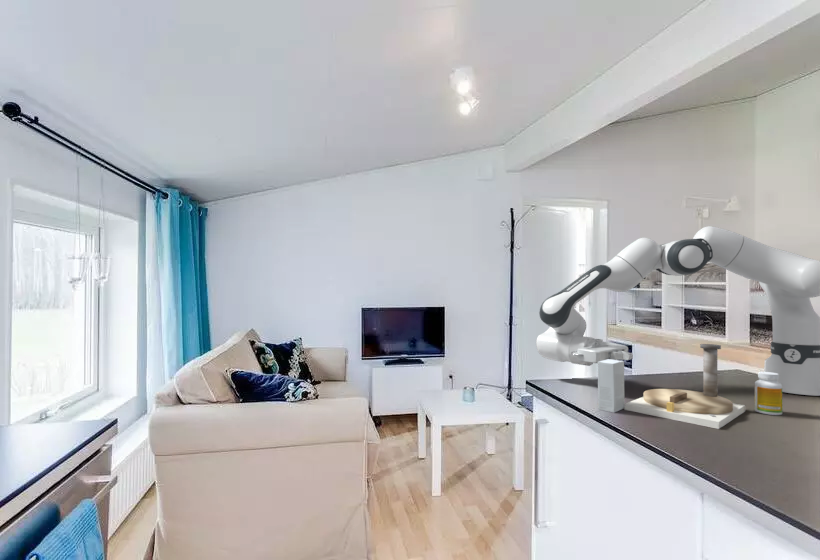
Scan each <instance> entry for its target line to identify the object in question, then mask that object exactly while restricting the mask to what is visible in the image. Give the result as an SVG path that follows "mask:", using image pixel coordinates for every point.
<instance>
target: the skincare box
mask: <svg viewBox="0 0 820 560" xmlns="http://www.w3.org/2000/svg"><path fill="white" fill-rule="evenodd" d="M597 409H598V411H603V412H604V411H605V412H609V413H617V412H619V411H621V410H623V409H624V410H625V360H612V359H607V360H603V361H599V362H598V363H597Z"/></svg>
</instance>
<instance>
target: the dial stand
mask: <svg viewBox="0 0 820 560" xmlns="http://www.w3.org/2000/svg"><path fill="white" fill-rule="evenodd" d="M624 411H629V412H634V413H635V412H636V413H638V414H644V415H648V416H649V415H650V416H654V417H659V418H663V419H667V420H673V421H679V422H681V423H688V424H692V425H696V426H697V425H698V426H702V427H706V428H707V427H708V428H712V429H717V430H719V429H721V428H722V427H724V426H725V425H727V424H729V423H730V422H731V421H733V420H734V419H736V418H738V417H739V416H741V415H742V414H744V413H745V412H746V405H745V404H739V403H734V402H733V411H731V412H729V413H723V414H700V413H689V412H682V411H676V410H674V403H672V402H667V409H666V408H662V407H658V406H655V405H652V404H649V403H647V402H646V401H644V396H642V397H639V398H638V397H637V398H636V399H633V400H631V401H628V402H624Z"/></svg>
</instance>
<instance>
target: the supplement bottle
mask: <svg viewBox="0 0 820 560" xmlns="http://www.w3.org/2000/svg"><path fill="white" fill-rule="evenodd" d="M757 377H758V380H756V381H755V382H754V411H755V412H757V413H760V414H763V415H768V416H781V415H783V392H782V385H781V384H780V383H779V382H777V380H779V374H777V373H772V372H764V371H758V373H757Z"/></svg>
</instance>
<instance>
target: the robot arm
mask: <svg viewBox="0 0 820 560" xmlns="http://www.w3.org/2000/svg"><path fill="white" fill-rule="evenodd" d="M707 263H711V264H714V265H715V266H718V267H720V268H721V269H724V270H726V271H728V272H732V273H733V274H736V275H738V276H739V277H743V278H745V279H747V280H752V281H755V282H758V284H759V286H760V287H761V289H762V290H763V291H764V293H765V295H766V299H767V301H768V306H769V309H770V313H771V319H772V321H771V322H772V341H771V342H770V346H769V347H770V353H771V355H770V356H769V357H767V358H766V359H764V367H763V372H772V373H777V374H779V380H777V382H779V383H780V384H781V385H782V393H788V394H795V395H802V396H804V395H805V396H820V315H819V314H818V313H817V312H816V311H815V309H814V308H813V305H812V303H811V299H810V298H817V297H820V259H819V260H818V259H814V258H810V257H807V256H804V255H801V254H797V253H795V252H790V251H787V250H782V249H779V248H775V247H773V246H769V245H766V244H764V243H762V242H759V241H757V240H755V239H752V238H749V237H747V236H745V235H742V234H740V233H737V232H735V231H732V230H728V229H725V228H721V227H717V226H711V225H707V226H704V227H702V228H701V229H699V230H698V231H697V232H696V233H695V234H694V236H693V238H685V239H679V240H673V241H670V242H667V243H663V244H658V243H657V242H656V241H655V240H653V239H651V238H648V237H640V238H637V239H635V240H634V241H632V242H631V243H629V244H628V245H627V246H626V247H624V248H623V249H622V250H620V252H618V253H617V254H616V255H615V256H613V257H612V258H611V259H610V260H609V261H607V262H605V263H603V264H599V265H596V266H594V267H592V268H591V269H588V271H585V272H584V273H583V274H582V275H581V276H579V277H577V278H576V279H575V280H574V281H572V282H571V283H570V284H568V285H567V286H565V287H564V288H563V289H561V290H560V291H558V292H556V293H554V294H552V295H551V296H548V297H547V298H546V299H544V301H543V302H541V305H540V307H539V312H538V313H539V319H540V321H542V322H543V323H544V324H545V325H547V326H548V329H547V330H546V331H544V332H542V333H540V334H539V335H538V336H537V338H536V340H535V341H536V342H535V343H536V344H535V345H536V349H537V352H538V353H539V355H540V356H541V357H543V358H545V359H548V360H551V361H554V362H561V363H565V362H568V363H571V364H575V365H578V366H580V365H581V366H587V367H590V366H592V365H593V364H598V362H599V361H603V360H607V359H612V360H619V361H629V360H633V359H634V354H633V352H629V347H628V346H626V345H624V344H620V343H615V342H610V341H609V342H608V341H604V340H603V339H601V338H594V337H591V336H585V335H584V334H585V333H586V329H587V322H586V320H585V318H584V317H583V315H581V314H580V312H578V310H577V309H575V306H576V305H577V304H578V303H579V302H581V301H582V300H584V299H585V298H586V297H587V296H589V295H590V294H592V292H594V291H597V290H600V289H606V290H609V291H613V292H617V293H623V292H628V291H630V290H632V289H634V288H635V287H636V286H638V285H639V284H640V283H641V282H642V281H643V280H644V279H645V278H646V277H647V276H648V275H649V274H650V273H652V272H653V271H658V272H659V273H661V274H664V275H666V276H667V275H668V276H675V277H677V276H680V277H681V276H689V275H694V274H696V273H698V272H699V271H701V270H702V269H703V268H704V267H705V266H706V265H707Z"/></svg>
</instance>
